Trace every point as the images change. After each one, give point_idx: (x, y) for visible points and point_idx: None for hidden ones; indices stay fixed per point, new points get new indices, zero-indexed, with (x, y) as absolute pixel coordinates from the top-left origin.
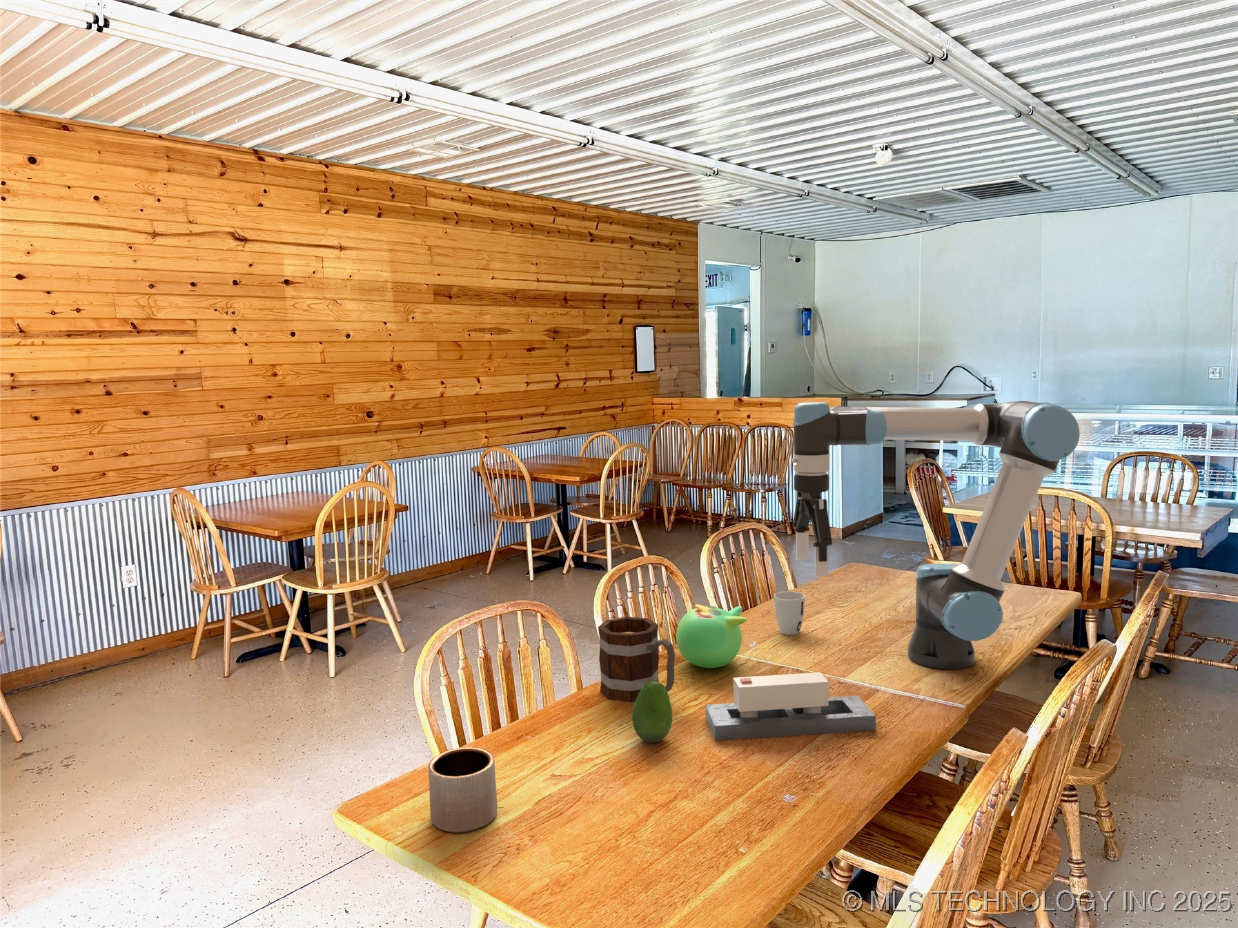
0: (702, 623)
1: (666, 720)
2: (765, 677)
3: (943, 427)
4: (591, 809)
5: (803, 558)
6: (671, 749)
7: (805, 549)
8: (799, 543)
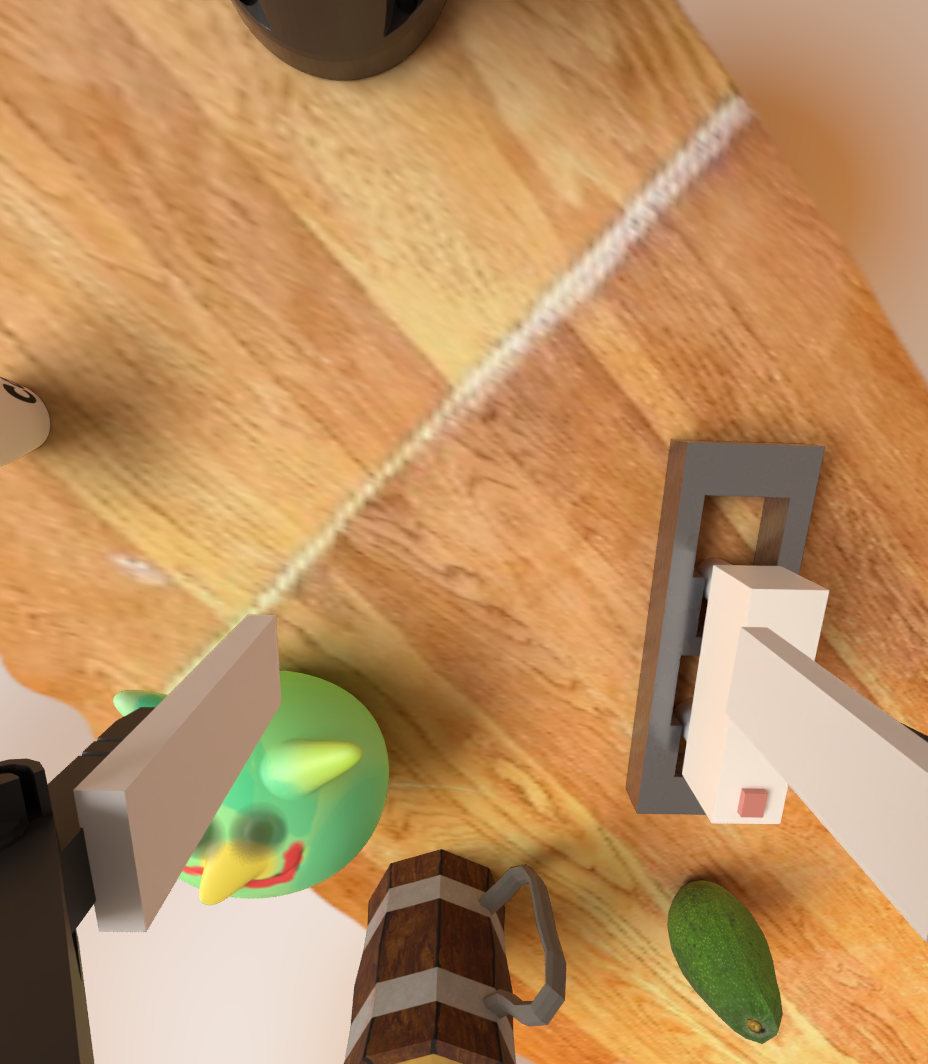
0: (328, 864)
1: (758, 926)
2: (736, 746)
3: None
4: (894, 992)
5: (271, 663)
6: (741, 867)
7: (240, 691)
8: (211, 789)
